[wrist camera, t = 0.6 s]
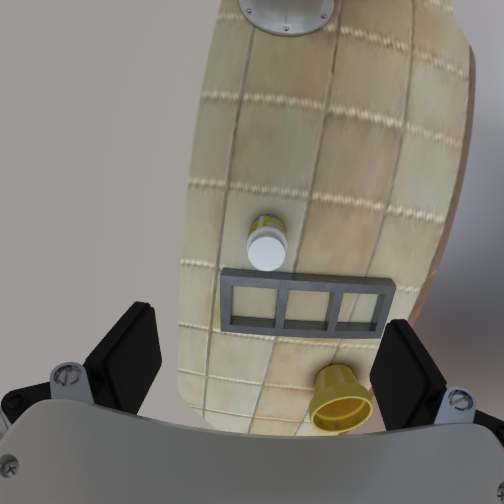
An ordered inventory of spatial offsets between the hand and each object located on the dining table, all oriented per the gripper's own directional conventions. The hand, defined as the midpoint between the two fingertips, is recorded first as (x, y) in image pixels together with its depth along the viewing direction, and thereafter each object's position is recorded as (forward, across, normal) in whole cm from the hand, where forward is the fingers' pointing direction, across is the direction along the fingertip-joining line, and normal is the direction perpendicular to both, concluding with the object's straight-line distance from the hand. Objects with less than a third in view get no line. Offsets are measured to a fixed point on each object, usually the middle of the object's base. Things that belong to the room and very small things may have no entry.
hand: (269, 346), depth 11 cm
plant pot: (+30, -13, +29) cm, 43 cm away
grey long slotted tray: (+29, -6, +13) cm, 32 cm away
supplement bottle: (+28, 0, +3) cm, 29 cm away
